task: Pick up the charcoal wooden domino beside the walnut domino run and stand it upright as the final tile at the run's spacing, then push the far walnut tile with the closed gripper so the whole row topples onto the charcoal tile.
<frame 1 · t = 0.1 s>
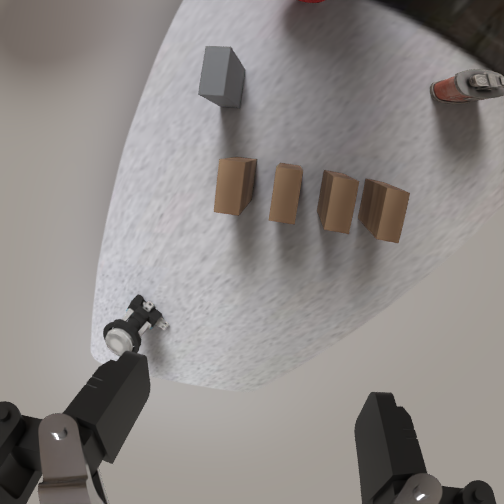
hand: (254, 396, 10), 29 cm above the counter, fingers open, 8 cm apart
walnut tile 2: (330, 192, 35), on the counter
charcoal tile: (232, 87, 33), on the counter
walnut tile 3: (287, 184, 36), on the counter
walnut tile 1: (370, 200, 35), on the counter
lighter: (454, 91, 29), on the counter
push button: (151, 310, 44), on the counter
walnut tile 4: (244, 178, 36), on the counter
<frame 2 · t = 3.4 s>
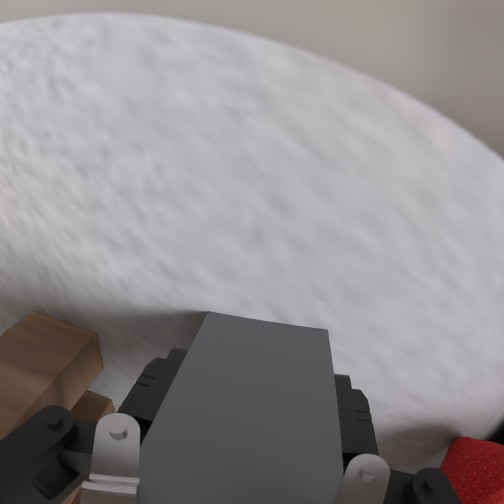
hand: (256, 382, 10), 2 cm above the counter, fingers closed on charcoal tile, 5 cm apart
strawberry: (453, 438, 14), on the counter
charcoal tile: (264, 344, 13), on the counter, touching gripper
walnut tile 3: (84, 399, 16), on the counter
walnut tile 4: (66, 338, 15), on the counter
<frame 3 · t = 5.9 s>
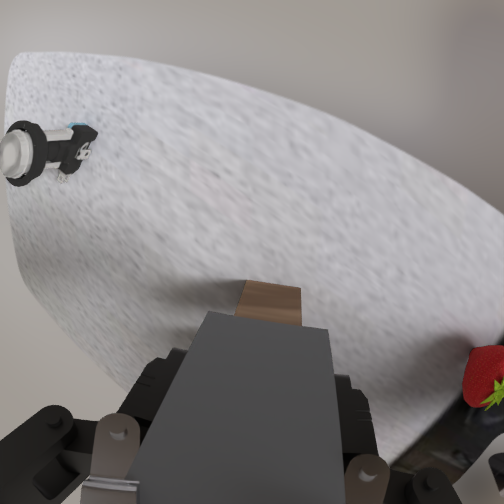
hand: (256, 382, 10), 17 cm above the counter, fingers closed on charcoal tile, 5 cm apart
strawberry: (471, 349, 28), on the counter
charcoal tile: (264, 344, 13), point 15 cm above the counter, touching gripper
push button: (80, 152, 27), on the counter
walnut tile 4: (271, 295, 29), on the counter
when the fingers open (3 cm above the counter, at t = 8.9 s): charcoal tile stays where it is, on the counter.
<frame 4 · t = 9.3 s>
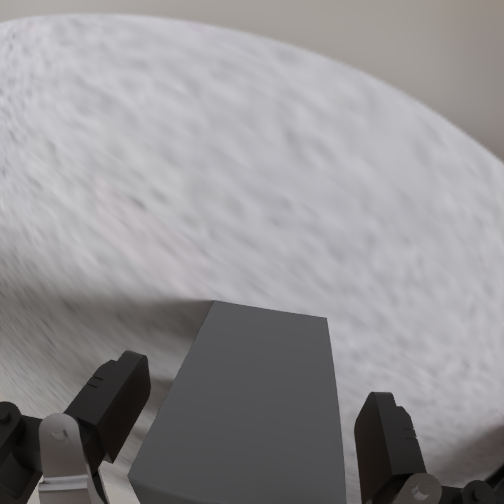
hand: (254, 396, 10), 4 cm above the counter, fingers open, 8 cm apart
charcoal tile: (266, 332, 14), on the counter
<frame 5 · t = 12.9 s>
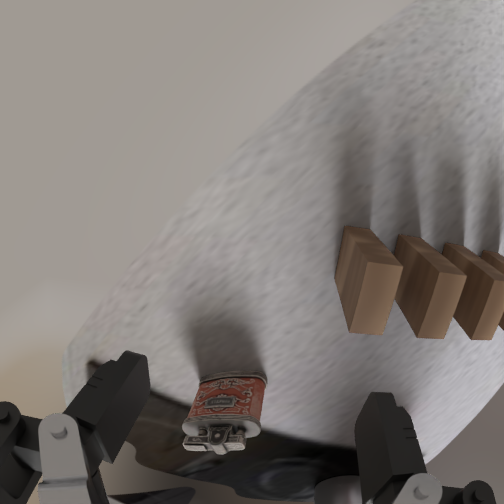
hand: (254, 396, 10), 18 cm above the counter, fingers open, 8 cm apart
walnut tile 2: (403, 261, 26), on the counter
walnut tile 3: (448, 268, 26), on the counter
walnut tile 1: (352, 254, 27), on the counter
lighter: (233, 381, 33), on the counter
walnut tile 4: (484, 274, 25), on the counter
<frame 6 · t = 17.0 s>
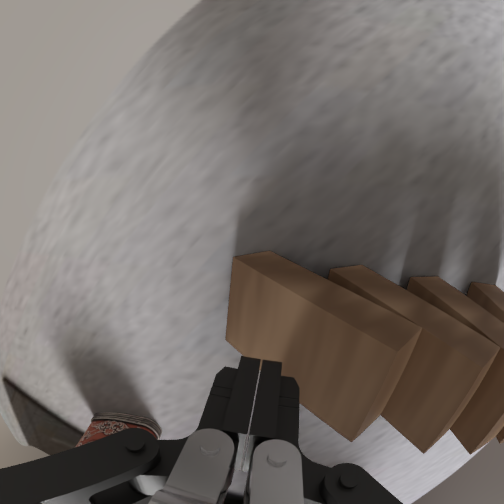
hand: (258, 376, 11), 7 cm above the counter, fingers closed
walnut tile 2: (336, 308, 16), point 1 cm above the counter, tilted 34°, touching walnut tile 1
walnut tile 3: (411, 314, 16), on the counter, tilted 19°
walnut tile 1: (246, 296, 17), point 1 cm above the counter, tilted 46°, touching walnut tile 2
lighter: (126, 423, 24), on the counter
walnut tile 4: (471, 317, 16), on the counter
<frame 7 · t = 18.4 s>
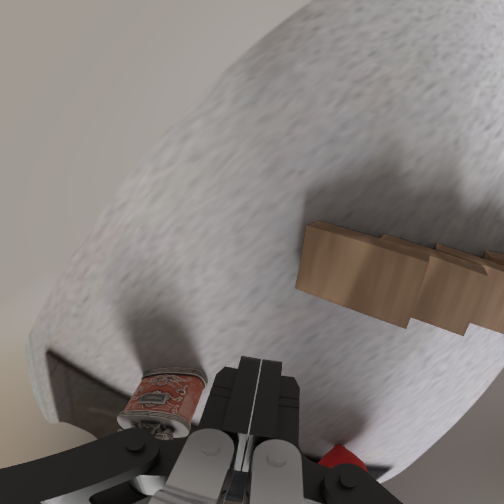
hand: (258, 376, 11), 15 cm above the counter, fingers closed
strawberry: (339, 443, 33), on the counter
walnut tile 2: (374, 266, 23), point 1 cm above the counter, tilted 62°, touching walnut tile 1, walnut tile 3
walnut tile 3: (428, 274, 23), point 1 cm above the counter, tilted 65°, touching walnut tile 2
walnut tile 1: (307, 254, 23), point 1 cm above the counter, tilted 63°, touching walnut tile 2
lighter: (174, 377, 32), on the counter
walnut tile 4: (482, 280, 22), point 1 cm above the counter, tilted 68°
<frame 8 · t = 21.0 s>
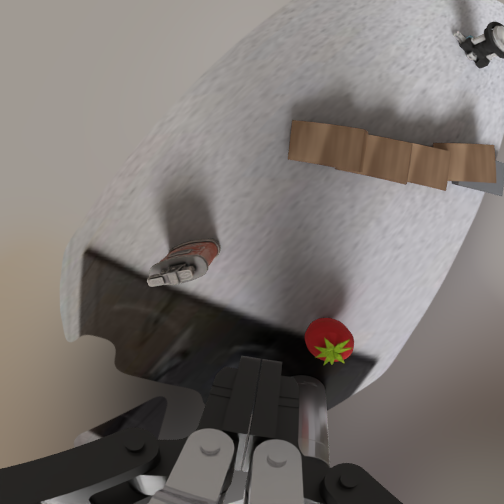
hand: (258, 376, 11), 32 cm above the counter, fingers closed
strawberry: (326, 320, 46), on the counter
walnut tile 2: (340, 150, 36), point 1 cm above the counter, tilted 65°, touching walnut tile 1
charcoal tile: (456, 167, 35), point 1 cm above the counter, tilted 90°
walnut tile 3: (382, 157, 36), point 1 cm above the counter, tilted 69°
walnut tile 1: (294, 140, 37), point 1 cm above the counter, tilted 66°, touching walnut tile 2
lighter: (194, 251, 45), on the counter
push button: (468, 50, 29), on the counter
walnut tile 4: (434, 161, 35), point 1 cm above the counter, tilted 64°
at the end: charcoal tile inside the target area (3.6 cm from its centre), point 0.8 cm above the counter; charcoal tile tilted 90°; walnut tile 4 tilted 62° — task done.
